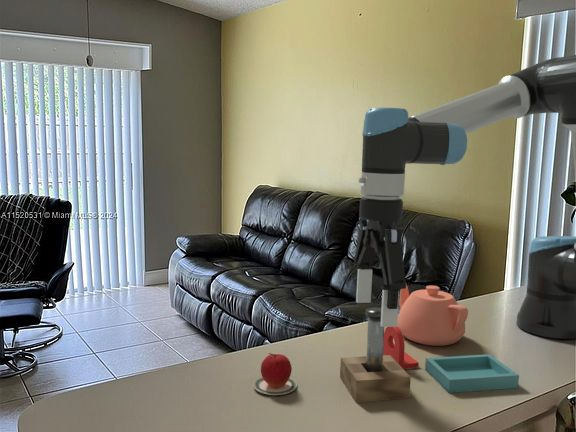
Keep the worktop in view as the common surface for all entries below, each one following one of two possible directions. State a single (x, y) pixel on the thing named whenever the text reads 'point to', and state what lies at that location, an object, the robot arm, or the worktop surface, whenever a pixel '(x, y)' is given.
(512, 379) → the tray
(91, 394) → the worktop surface
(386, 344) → the bracket
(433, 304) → the teapot
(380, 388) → the block
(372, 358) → the pin
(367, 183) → the robot arm
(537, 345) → the worktop surface
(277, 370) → the apple
